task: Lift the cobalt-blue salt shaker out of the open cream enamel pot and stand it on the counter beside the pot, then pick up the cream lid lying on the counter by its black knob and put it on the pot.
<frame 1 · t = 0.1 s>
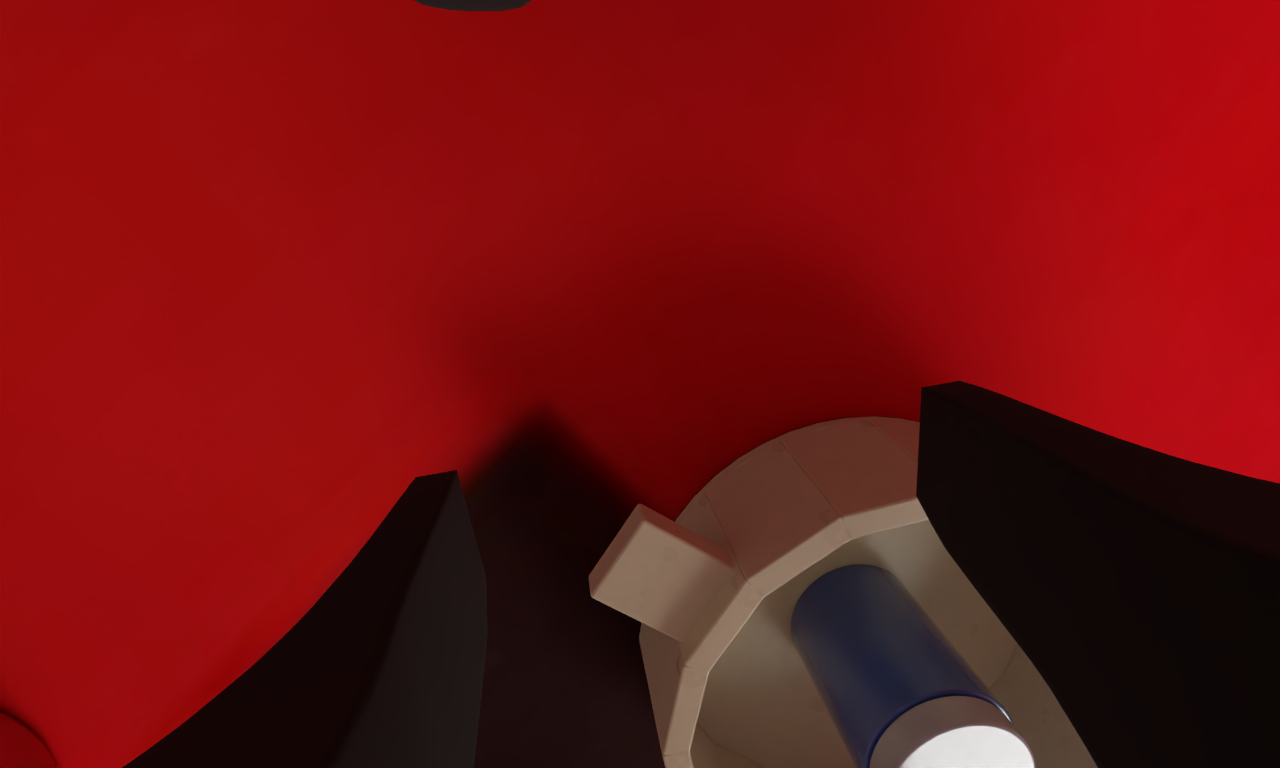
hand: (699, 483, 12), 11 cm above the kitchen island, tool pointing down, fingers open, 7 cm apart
salt shaker: (850, 618, 25), resting on pot
pot: (844, 610, 26), on the kitchen island
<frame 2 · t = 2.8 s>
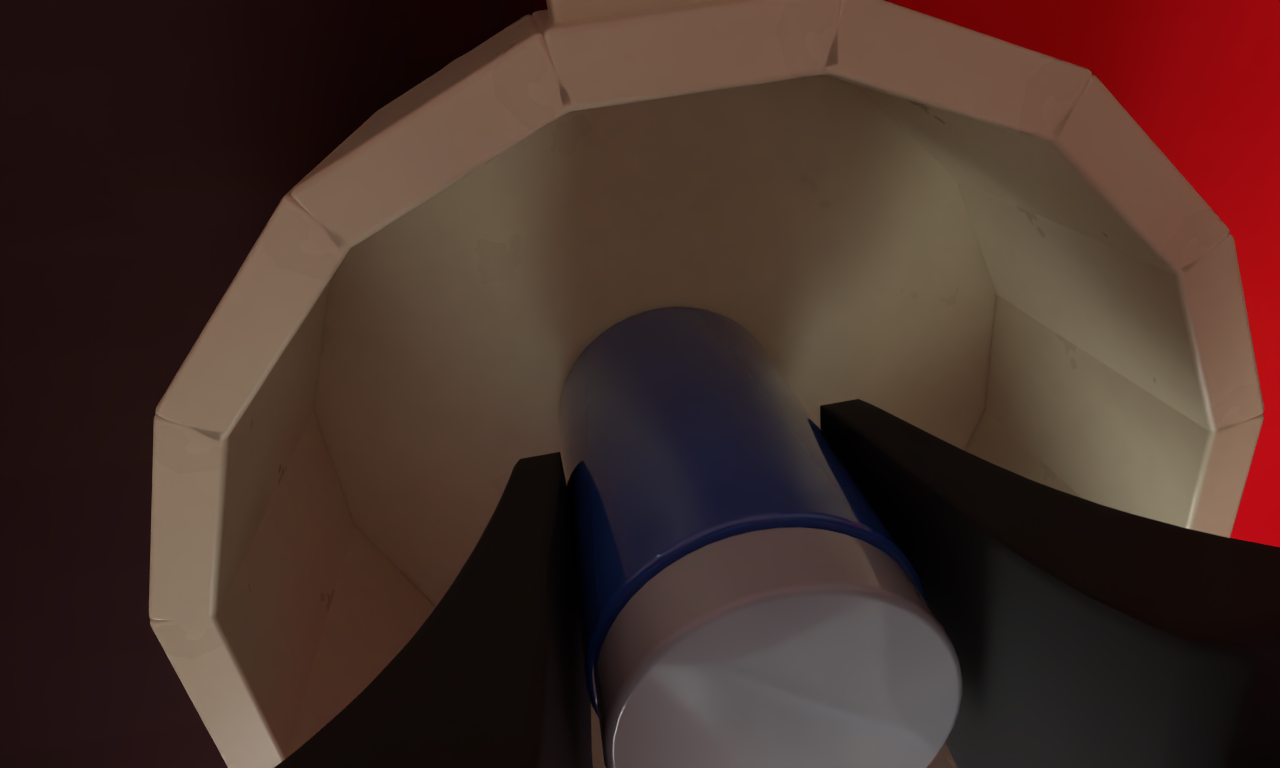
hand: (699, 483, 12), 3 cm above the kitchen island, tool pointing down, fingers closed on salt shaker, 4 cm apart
salt shaker: (670, 409, 14), point 1 cm above the kitchen island, touching gripper, pot
pot: (667, 396, 15), on the kitchen island
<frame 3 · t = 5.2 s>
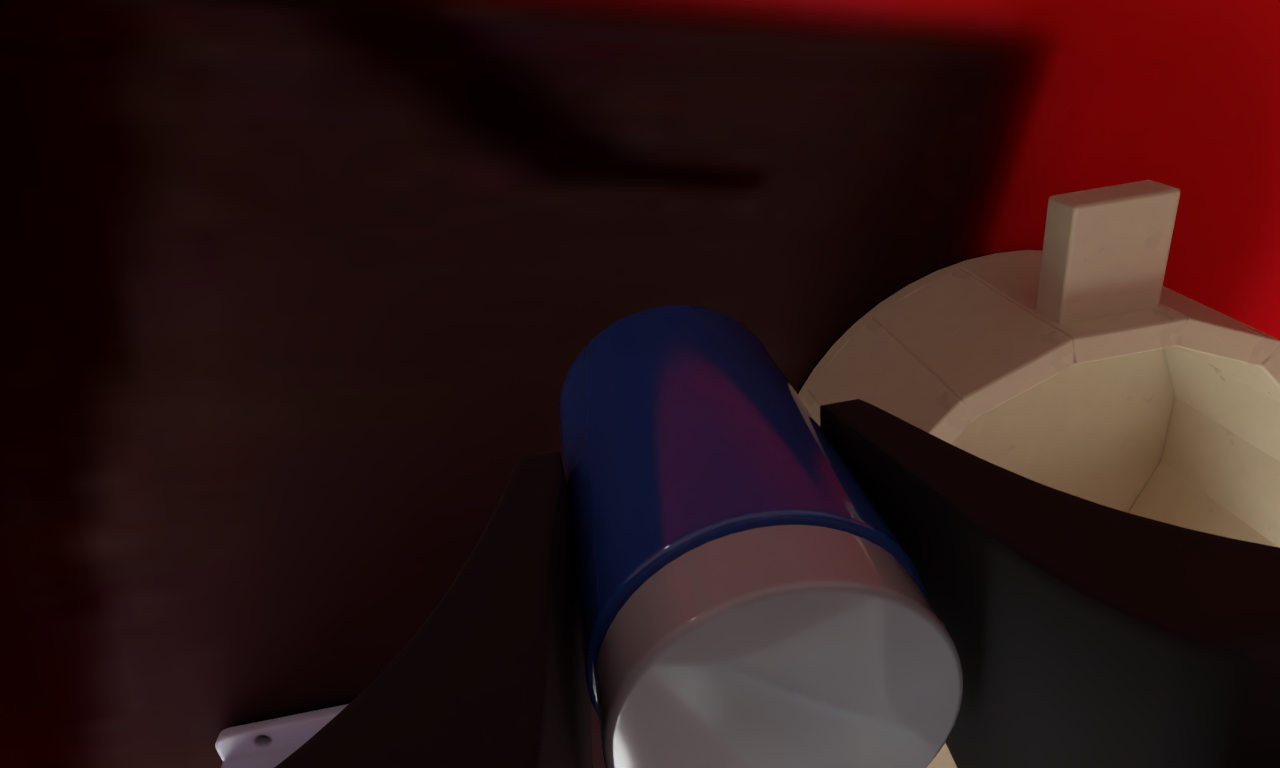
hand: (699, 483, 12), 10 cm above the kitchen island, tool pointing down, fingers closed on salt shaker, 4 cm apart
salt shaker: (670, 407, 14), point 7 cm above the kitchen island, touching gripper
pot: (977, 454, 25), on the kitchen island
when the fingers open (2 cm above the kitchen island, at t = 7.5 s): salt shaker stays where it is, on the kitchen island.
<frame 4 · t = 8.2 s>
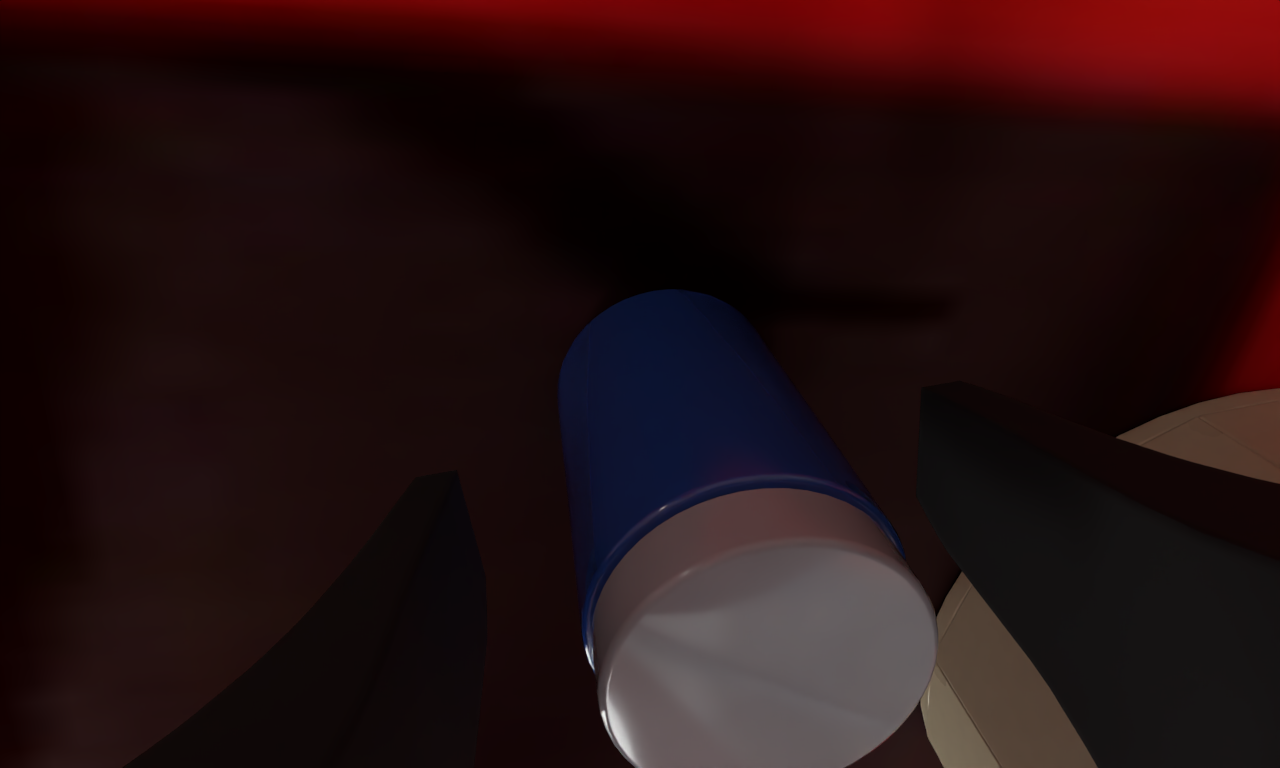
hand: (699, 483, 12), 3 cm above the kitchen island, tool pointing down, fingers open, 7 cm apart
salt shaker: (665, 389, 15), on the kitchen island
pot: (1176, 627, 20), on the kitchen island
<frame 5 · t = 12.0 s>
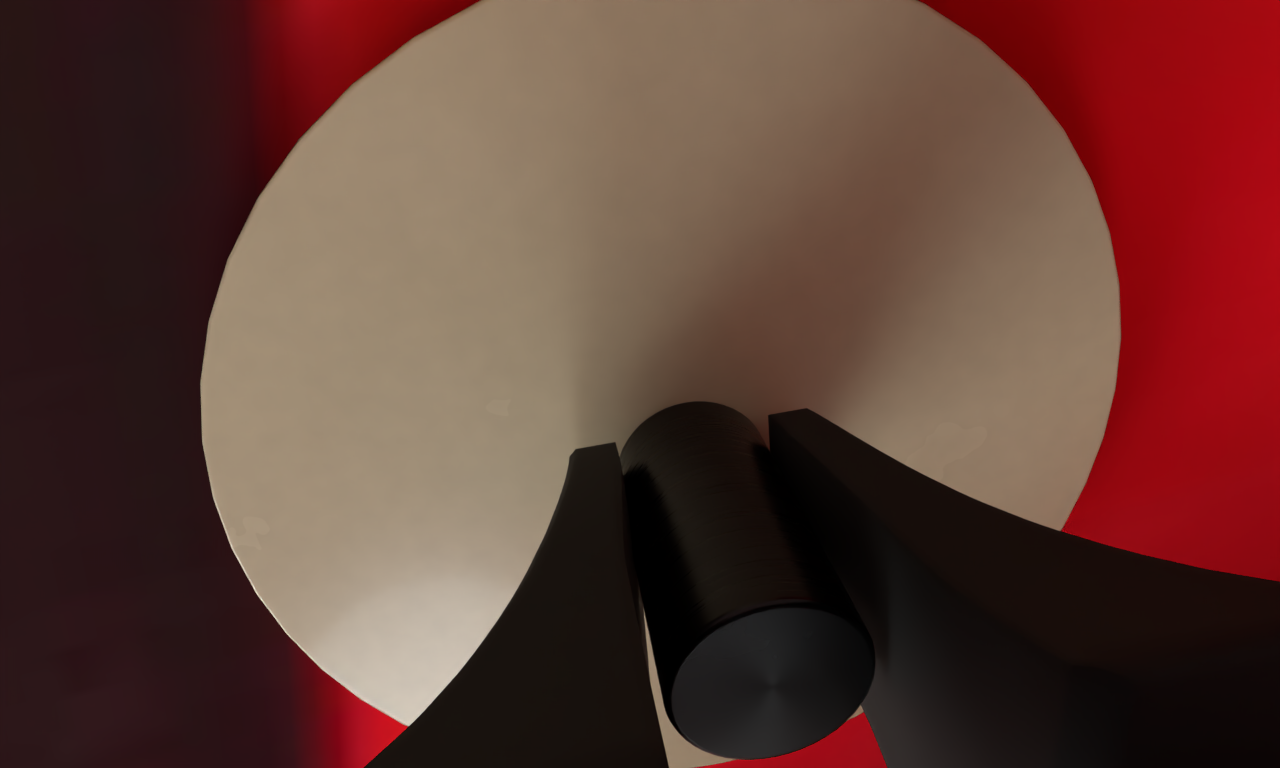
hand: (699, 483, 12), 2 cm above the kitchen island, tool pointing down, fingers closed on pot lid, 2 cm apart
pot lid: (685, 449, 13), point 1 cm above the kitchen island, touching gripper
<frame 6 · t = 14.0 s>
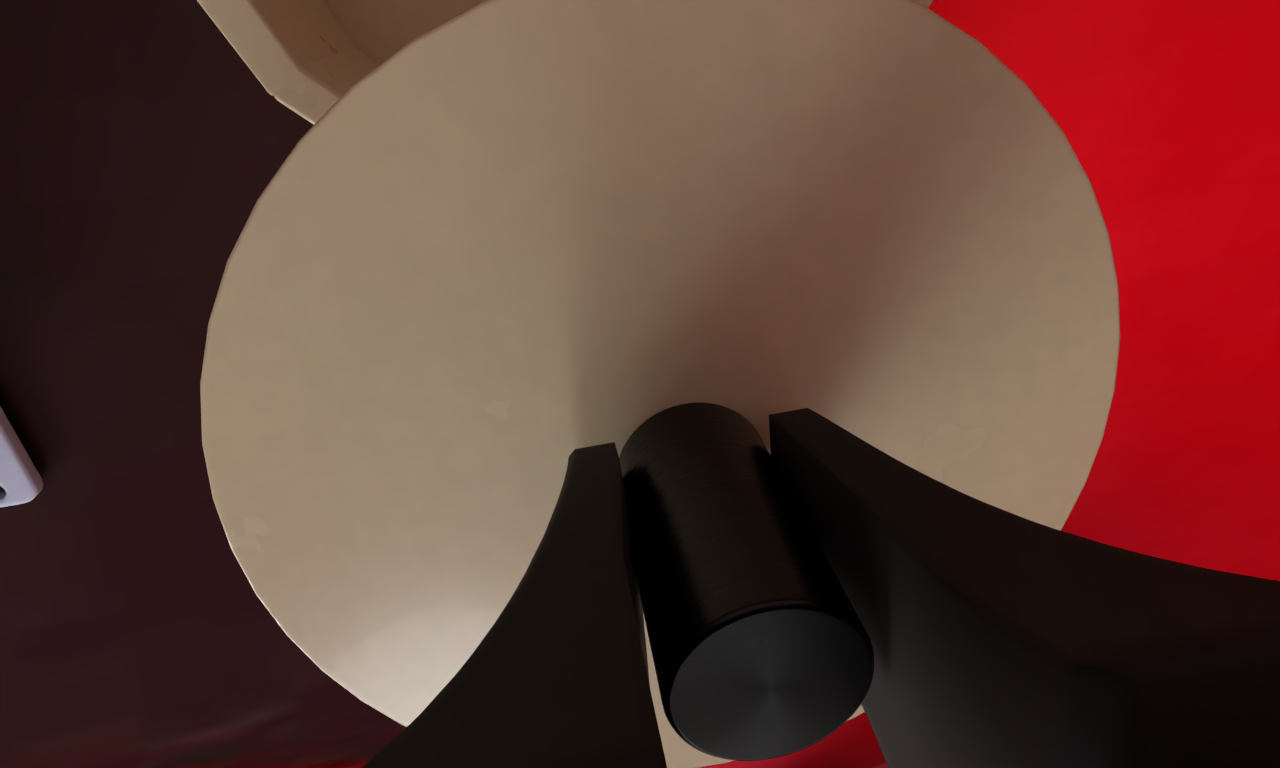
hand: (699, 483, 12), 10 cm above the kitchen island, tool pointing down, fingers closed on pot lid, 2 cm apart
pot lid: (684, 450, 13), point 9 cm above the kitchen island, touching gripper
when the fingers open (6 cm above the kitchen island, at t = 16.2 s): pot lid stays where it is, resting on pot.
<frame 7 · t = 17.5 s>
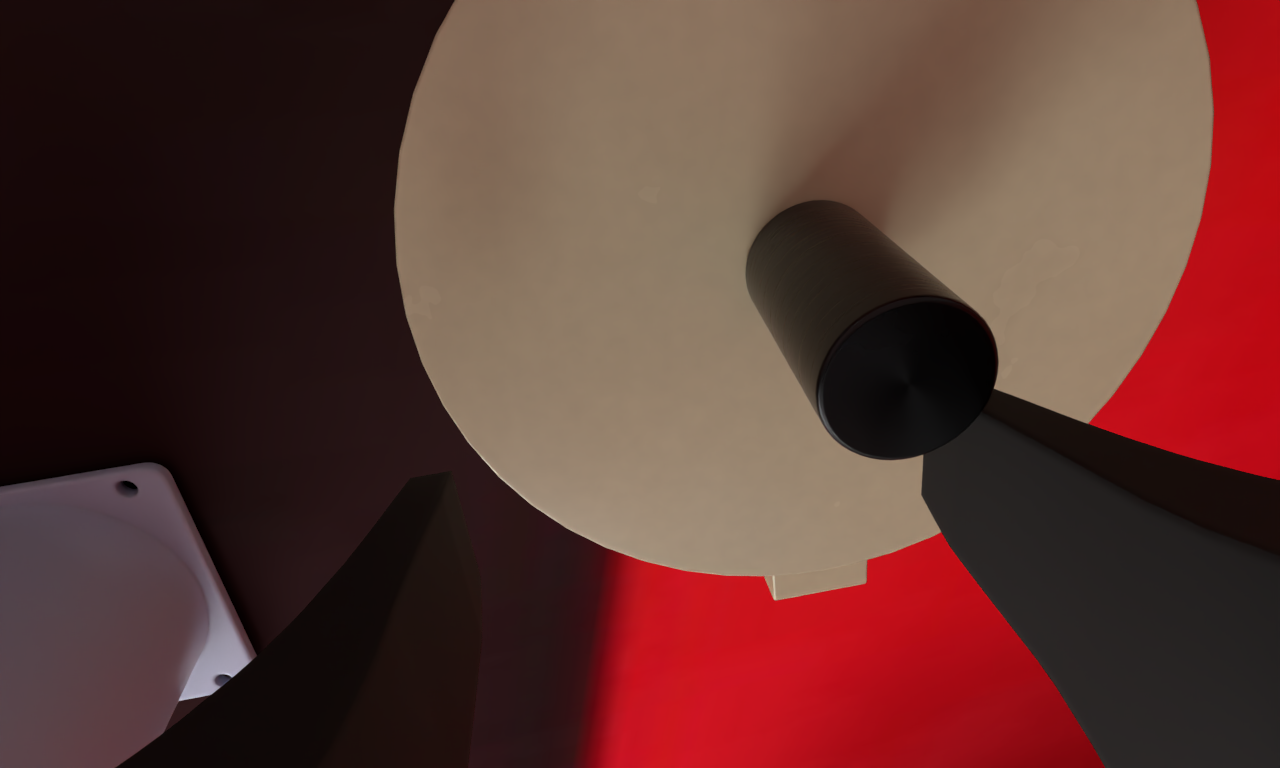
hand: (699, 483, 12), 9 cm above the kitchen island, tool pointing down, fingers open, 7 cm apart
pot lid: (803, 256, 15), point 6 cm above the kitchen island, touching gripper, pot
pot: (751, 173, 20), on the kitchen island
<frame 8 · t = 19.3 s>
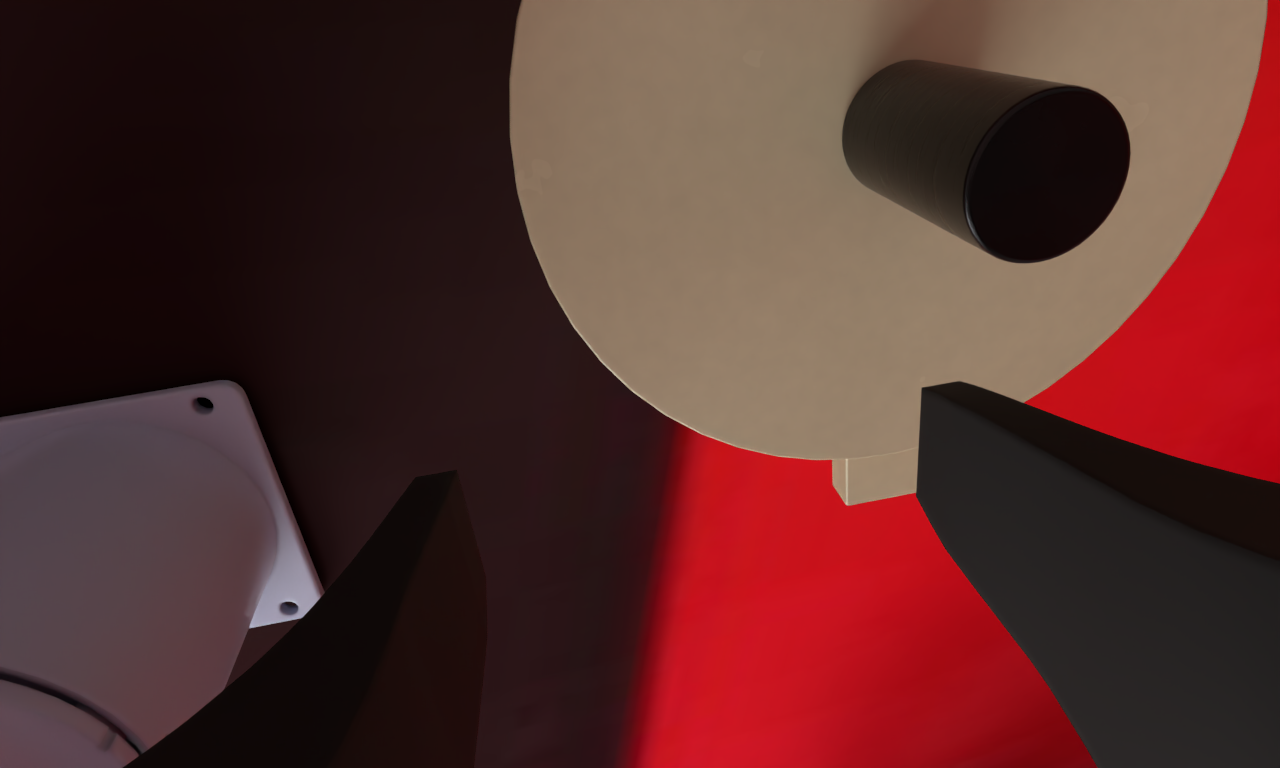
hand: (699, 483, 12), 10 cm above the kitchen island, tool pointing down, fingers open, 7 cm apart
pot lid: (890, 124, 15), point 5 cm above the kitchen island, touching pot
pot: (819, 87, 20), on the kitchen island
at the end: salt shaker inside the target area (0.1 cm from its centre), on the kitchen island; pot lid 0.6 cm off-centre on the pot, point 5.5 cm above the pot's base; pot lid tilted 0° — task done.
